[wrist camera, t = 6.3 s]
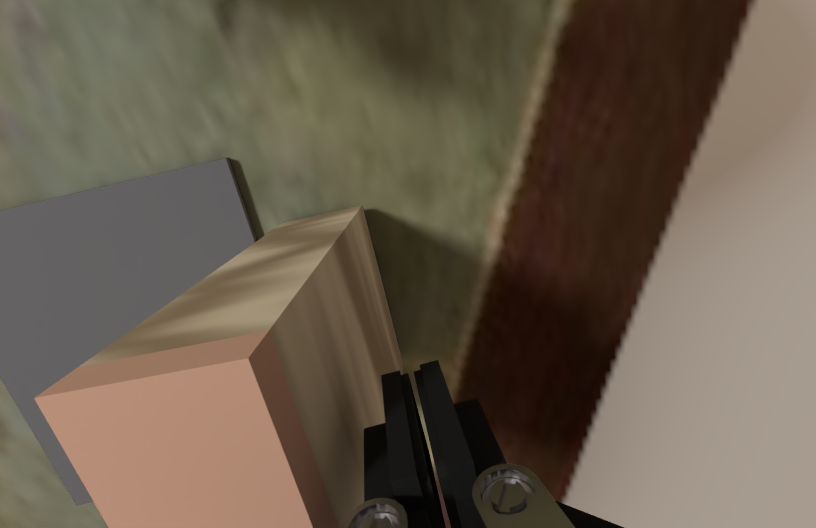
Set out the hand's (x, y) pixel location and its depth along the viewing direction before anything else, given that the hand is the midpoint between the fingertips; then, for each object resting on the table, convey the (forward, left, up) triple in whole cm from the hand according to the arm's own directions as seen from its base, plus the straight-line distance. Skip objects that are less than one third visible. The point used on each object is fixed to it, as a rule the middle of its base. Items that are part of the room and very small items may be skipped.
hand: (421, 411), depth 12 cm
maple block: (+2, 0, -10) cm, 11 cm away
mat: (+13, 0, -11) cm, 17 cm away
